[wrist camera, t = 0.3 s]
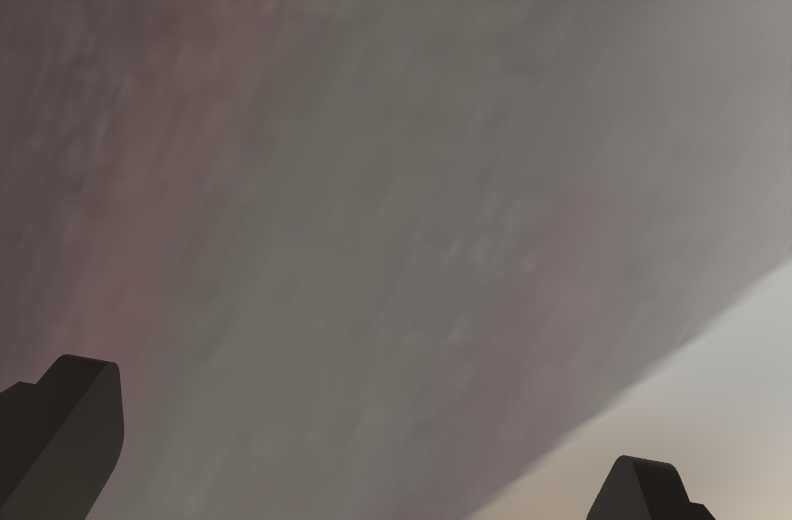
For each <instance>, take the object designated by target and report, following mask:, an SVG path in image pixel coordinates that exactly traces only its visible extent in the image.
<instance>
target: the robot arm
mask: <svg viewBox="0 0 792 520" xmlns="http://www.w3.org/2000/svg"><path fill="white" fill-rule="evenodd" d="M123 439H124V420H123V408H122V396H121V383H120V372H119V368H118V365H117V364H116V363H114V362H108V361H103V360H97V359H92V358H86V357H80V356H75V355H69V354H65V355H62V356H61V357H59V358H58V359H57V360H56V361H55V362H54V363H53V364H52V366H51V367H50V368H49V369H48V370H47V372H46V373H45V374H44V375H43V376H42V377H41V379H40V380H39V381H38V382H37V383H36V384H31V383H25V382H20V381H19V382H18V383H16V384H14V385H13V386H11V387H10V388H8V389H6V390H5V391H3V392H1V393H0V520H85V518H86V516H87V515H88V513H89V511H90V509H91V508H92V506H93V504H94V503H95V501H96V499H97V497H98V496H99V494H100V492H101V491H102V489H103V487H104V485H105V484H106V482H107V480H108V479H109V477H110V475H111V473H112V472H113V470H114V468H115V466H116V464H117V461H118V459H119V456H120V453H121V449H122V445H123ZM586 520H715V518H714V517H713V516H712V515H711V513H710V512H709V511H708V510H707V508H706V507H705V506H704V505H703V504H697V503H692V502H690V501H689V498H688V496H687V493H686V491H685V488H684V486H683V483H682V481H681V478H680V476H679V474H678V472H677V470H676V469H675V467H674V466H673V465H671V464H669V463H664V462H659V461H653V460H647V459H641V458H635V457H631V456H625V455H623V456H620V457H619V458H618V459H617V460H616V461H615V463H614V465H613V467H612V469H611V471H610V473H609V475H608V476H607V479H606V481H605V482H604V484H603V486H602V488H601V490H600V492H599V494H598V496H597V498H596V500H595V502H594V503H593V505H592V507H591V509H590V511H589V513H588V516H587V519H586Z"/></svg>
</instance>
